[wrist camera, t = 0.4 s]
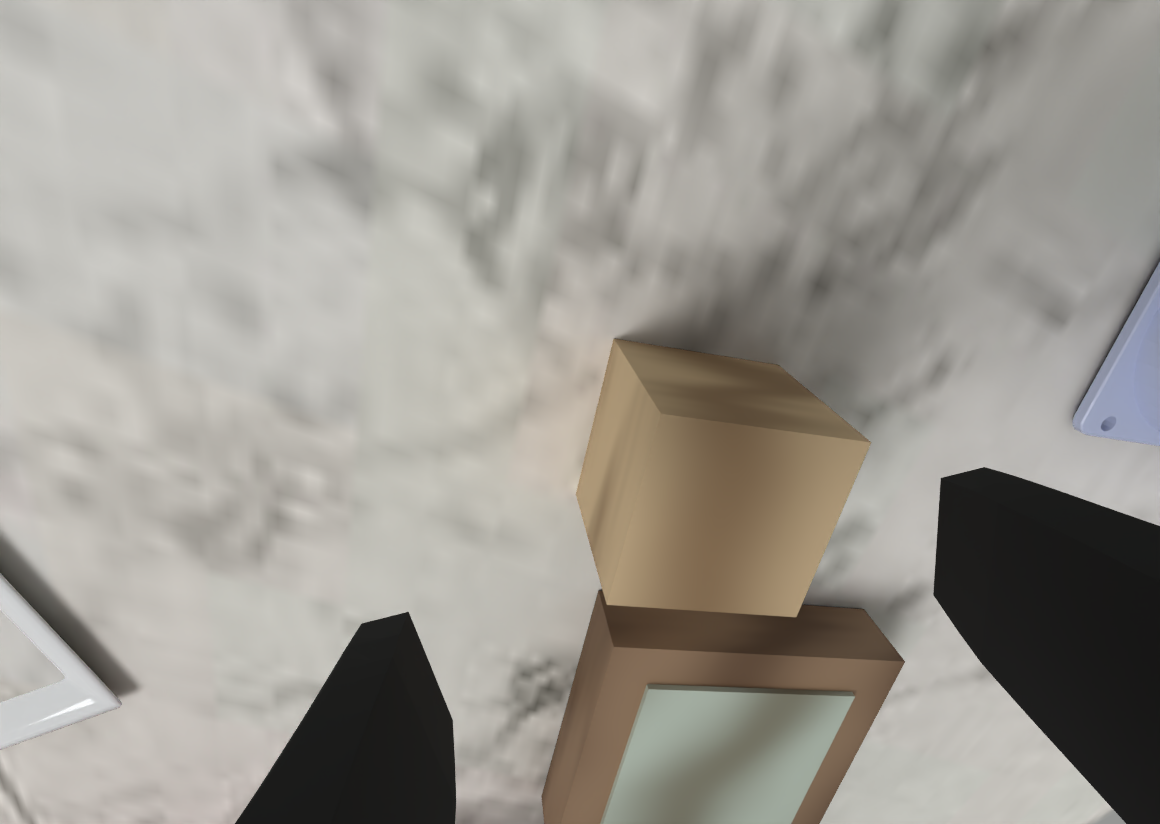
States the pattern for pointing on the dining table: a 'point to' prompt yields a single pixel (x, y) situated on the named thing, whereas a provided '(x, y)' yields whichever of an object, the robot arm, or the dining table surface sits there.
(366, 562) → the dining table surface
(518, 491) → the dining table surface
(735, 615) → the walnut picture frame
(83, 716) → the dessert
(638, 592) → the oak cube
